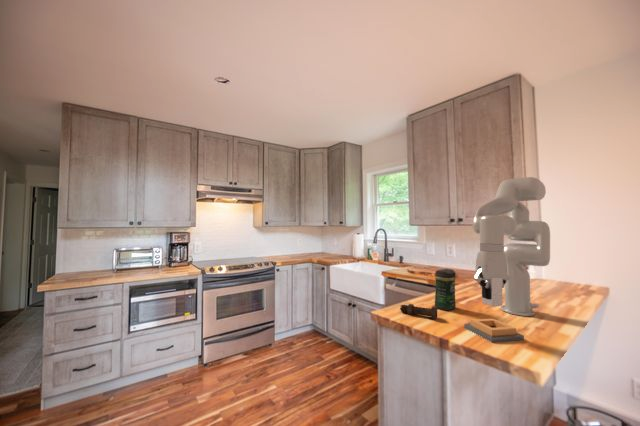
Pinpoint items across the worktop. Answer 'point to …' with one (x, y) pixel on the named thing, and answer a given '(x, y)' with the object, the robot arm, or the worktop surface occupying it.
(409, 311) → the bolt
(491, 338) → the square socket base
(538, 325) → the worktop surface
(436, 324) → the worktop surface
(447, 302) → the coffee jar
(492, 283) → the block
